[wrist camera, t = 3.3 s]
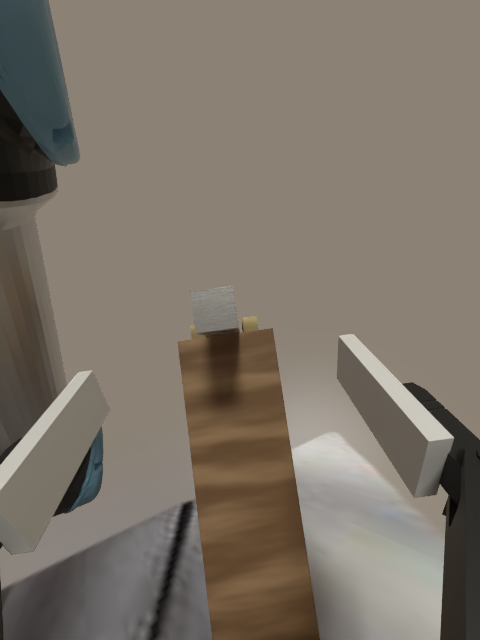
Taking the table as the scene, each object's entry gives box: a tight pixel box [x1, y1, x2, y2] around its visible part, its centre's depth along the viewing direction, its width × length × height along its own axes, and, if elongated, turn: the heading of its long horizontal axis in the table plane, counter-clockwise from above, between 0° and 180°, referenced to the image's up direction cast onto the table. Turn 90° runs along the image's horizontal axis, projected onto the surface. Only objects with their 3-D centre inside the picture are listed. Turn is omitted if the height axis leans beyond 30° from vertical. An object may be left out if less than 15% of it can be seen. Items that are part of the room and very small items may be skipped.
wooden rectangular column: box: [178, 316, 320, 640], centre depth 34 cm, size 16×10×32 cm, turn 0°
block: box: [190, 286, 240, 337], centre depth 30 cm, size 24×3×3 cm, turn 0°
